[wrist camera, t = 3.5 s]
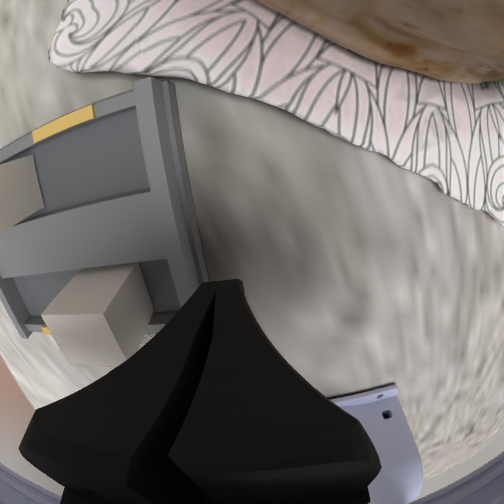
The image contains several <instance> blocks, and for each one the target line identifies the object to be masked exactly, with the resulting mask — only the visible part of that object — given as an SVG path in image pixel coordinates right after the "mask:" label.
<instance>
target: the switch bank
mask: <svg viewBox="0 0 504 504" xmlns="http://www.w3.org/2000/svg"><path fill="white" fill-rule="evenodd" d="M133 87H134V89H133V90H130V91H127V92H123V93H120V94H117V95H114V96H111V97H109V98H106V99H103V100H100V101H98V102H95V103H92V104H90V105H87V106H85V107H82V108H80V109H77V110H75V111H73V112H70V113H68V114H66V115H64V116H61V117H59V118H57V119H55V120H53V121H51V122H49V123H47V124H45V125H43V126H41V127H39V128H37V129H35V130H33V131H31V132H29V133H27V134H25V135H24V136H22V137H20V138H18V139H16V140H15V141H13V142H11V143H10V144H8V145H6V146H5V147H3V148H1V149H0V165H1V164H4V163H7V162H10V161H13V160H16V159H19V158H23V157H26V156H30V155H33V158H34V163H35V168H36V173H37V177H38V182H39V186H40V190H41V194H42V198H43V202H44V206H45V207H44V208H42V209H40V210H38V211H37V212H35V213H33V214H31V215H30V216H28V217H26V218H25V219H23V220H21V221H20V222H18V223H17V224H15V225H13V226H12V227H10V228H9V229H7V230H6V231H4V232H3V233H1V234H0V299H1V301H2V303H3V305H4V307H5V309H6V311H7V313H8V314H9V316H10V318H11V320H12V322H13V323H14V325H15V327H16V329H17V330H18V332H19V334H20V336H21V337H22V338H27V339H28V337H29V336H30V335H31V333H32V332H33V331H35V332H44V334H45V335H52V334H51V333H50V331H49V329H48V327H47V326H46V324H45V322H44V320H43V318H42V316H41V314H42V313H43V311H44V310H45V309H46V308H47V306H48V305H49V304H50V303H51V302H52V301H53V299H54V298H55V297H56V296H57V295H58V294H59V292H60V291H61V290H62V289H63V288H64V287H65V286H66V285H67V283H68V282H69V281H70V280H71V279H72V278H73V277H74V276H75V275H76V274H77V273H78V271H79V270H80V269H83V268H92V267H100V266H108V265H117V264H125V263H133V262H138V263H139V266H140V269H141V272H142V275H143V278H144V281H145V284H146V287H147V290H148V293H149V296H150V299H151V302H152V304H153V307H154V312H153V314H152V316H151V319H150V321H149V323H148V326H147V328H146V330H145V333H144V334H155V333H158V332H159V331H160V330H161V329H162V328H163V327H164V326H165V325H166V324H167V323H168V322H169V321H170V320H171V319H172V318H173V316H174V315H175V314H176V313H177V312H178V311H179V310H180V308H181V307H182V306H183V305H184V304H185V303H186V301H187V300H188V299H189V298H190V297H191V295H192V294H193V293H194V292H195V291H196V290H197V288H198V287H199V286H200V285H201V284H202V283H204V282H209V278H208V273H207V269H206V264H205V260H204V255H203V250H202V245H201V240H200V236H199V231H198V226H197V221H196V215H195V210H194V205H193V200H192V194H191V189H190V183H189V178H188V172H187V166H186V160H185V154H184V148H183V142H182V135H181V129H180V122H179V115H178V108H177V101H176V93H175V85H174V83H172V82H170V81H168V80H166V81H159V80H157V79H155V78H153V77H147V78H144V79H140V80H137V81H134V82H133Z"/></svg>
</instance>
